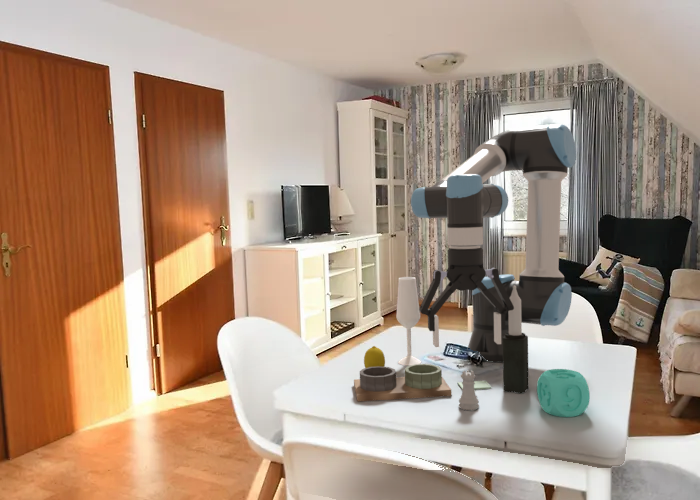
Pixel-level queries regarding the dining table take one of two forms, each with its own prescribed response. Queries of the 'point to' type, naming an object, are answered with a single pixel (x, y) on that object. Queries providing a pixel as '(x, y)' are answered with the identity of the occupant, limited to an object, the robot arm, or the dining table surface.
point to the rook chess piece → (468, 392)
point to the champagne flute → (408, 313)
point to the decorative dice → (563, 392)
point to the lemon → (374, 358)
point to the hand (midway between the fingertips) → (466, 344)
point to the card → (477, 385)
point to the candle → (515, 351)
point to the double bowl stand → (401, 383)
